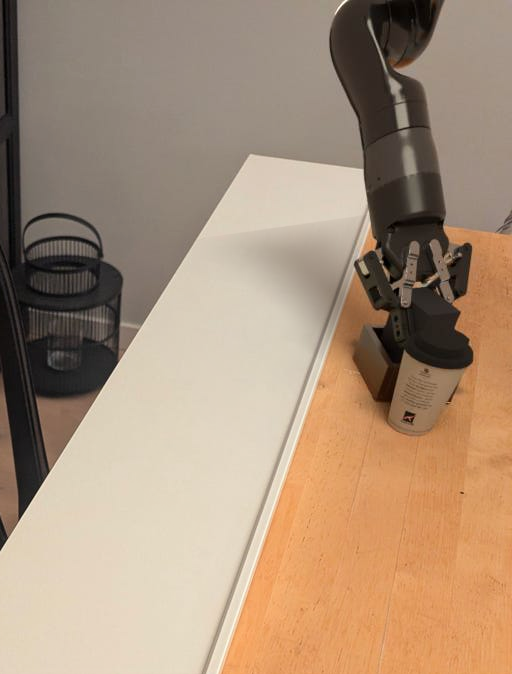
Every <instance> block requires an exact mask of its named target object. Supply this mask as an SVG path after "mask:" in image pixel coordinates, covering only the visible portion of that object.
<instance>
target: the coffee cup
mask: <svg viewBox="0 0 512 674" xmlns="http://www.w3.org/2000/svg"><path fill="white" fill-rule="evenodd" d="M403 347H404V354H403V358H402V362H401V366H400V370H399V374H398V378H397V382H396V387H395V391H394V395H393V399H392V402H390V408H389V410H388V411H389V412H388V416H387V419H386V420H387V424H388V425H389V426H390V427H391V428H392V429H393V430H395V431H397V432H399V433H401V434H402V435H403V434H404V435H408V436H413V437H414V436H416V437H420V436H425V435H428V434H429V433H430V432H431V430H432V429H433V427H434V425H435V423H436V422H437V420H438V418H439V416H440V415H441V413H442V411H443V409H444V408H445V406H446V405H447V404H446V403H447V401H448V399H449V398H450V396H451V394H452V393H453V391H454V389H455V388H456V386H457V384H458V382H459V381H460V382H461V380H460V379H462V377H464V374H465V373H466V371H467V369H468V368H469V367H470V366H471V365H472V364H473V363H474V350H473V348H472V347H471V346H470V338H469V337H468V336H467V335H466V334H464V333H463V332H461V331H459V330H457V329H456V328H455V329H450V328H442V327H427V328H424V329H422V330H421V331H420V332H416V333H413V334H412V335H411V336H409V337H408V338H407V339H406V341H405V342H404V345H403ZM460 382H459V383H460ZM458 385H459V384H458Z"/></svg>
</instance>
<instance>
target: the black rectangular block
mask: <svg viewBox="0 0 512 674" xmlns="http://www.w3.org/2000/svg"><path fill="white" fill-rule="evenodd" d="M398 295H399V294H398ZM408 308H409V309H410V308H412V310H413V317H414V323H415V330H416V332H420V331H421V330H422V329H424V328H427V327H442V328H450V329H454V328H455V329H456V325H457V323H458V321H459V319H460V316H461V313H462V311H461V310H459V308H457V307H456V306H454V305H453V303H452V304H450V303H449V302H448V301H447V300H445V299H444V298H443V297H441V296H440V294H439V292H438V293H436V292H435V291H434V290H432V289H429V288H427V287H419V286H418V287H412V294H411V304H410V306H409V307H408ZM384 325H385V327H384V330H383V333H382V336H381V338H380V342H381V344H382V346H383V347H384V349H385V351H386V352H387V354H388V356H389V358H390V359H391V361H392V363H396V364H401V362H402V358H403V354H404V348H400V347H399V344H398V343H396V341H395V338H394V331H393V325H392V318H391V315H390V314H389V313H388V316H387V319H386V322H385V324H384Z"/></svg>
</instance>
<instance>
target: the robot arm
mask: <svg viewBox="0 0 512 674" xmlns="http://www.w3.org/2000/svg"><path fill="white" fill-rule="evenodd" d="M445 1H446V0H343V1H342V3H341V4H340V5H338V6H339V7H338V8H337V9H336V11H335V13H334V15H333V17H332V20H331V23H330V24H331V25H330V28H329V33H328V35H329V36H328V48H329V56H330V60H331V63H332V66H333V69H334V71H335V74H336V76H337V79H338V81H339V83H340V84H341V86H342V89H343V91H344V93H345V96H346V98H347V100H348V102H349V105H350V107H351V109H352V111H353V112H354V114H355V116H356V119H357V124H358V125H357V126H358V133H359V139H360V146H361V152H362V160H363V166H362V167H363V173H362V174H363V182H364V188H365V196H366V202H367V208H368V216H369V222H370V229H371V234H372V235H371V236H372V238H373V239H374V240H375V241H376V244H375V247H374V250H372V249H371V250H369V251H367V252H366V253H364V254H362V255H361V256H360V257H358V258H357V259H355V260H354V262H353V267H354V269H355V272H356V274H357V276H358V278H359V280H360V282H361V285H362V288H363V289H364V291H365V293H366V296H367V298H368V300H369V302H370V304H371V307H372V309H373V310H374V311H377V312H379V311H380V310H382V311H385V312H387V313H388V315H389V314H390V315H391V318H392V325H393V331H394V338H395V341H396V343H398V344H399V347H400V348H404V347H403V345H404V342H405V341H406V339H407V338H408V337H409V336H411V335H412V334H413V333H416V330H415V323H414V317H413V310H412V308H410V309H409V308H408V307H409V306H410V304H411V294H412V288H414V286H415V284H416V283H417V286H418V288H419V287H427V288H429V289H432V290H434V291H435V292H436V293H438V294H439V295H440V296H441V297H443V298H444V299H445V300H447V301H448V302H449V303H450V304H452V305H453V303H454V302H455V301H457V300H459V299H460V298H463V297H464V296H466V295H467V293H468V287H469V286H468V285H469V279H470V271H471V263H472V255H473V246H472V244H471V243H470V242H465V243H463V244H461V245H460V244H456V243H453V242H450V239H449V236H448V235H447V234H446V232H445V230H444V223H445V221H446V217H447V210H446V202H445V195H444V190H443V189H444V188H443V182H442V176H441V169H440V162H439V155H438V151H437V146H436V143H435V140H434V137H433V133H432V126H431V117H430V111H429V106H428V105H429V104H428V99H427V94H426V90H425V86H424V85H423V83H422V82H421V81H420V80H418V79H417V78H415V77H412V76H409V75H405V74H402V73H399V72H398V71H396V70H402V69H405V68H406V67H409V66H410V65H412V64H413V63H415V62H416V61H417V60H418V59H419V58H420V57H422V55H423V54H424V52H426V50H427V48H428V47H429V45H430V43H431V42H432V39H433V37H434V34H435V31H436V28H437V24H438V21H439V18H440V15H441V12H442V9H443V7H444V4H445ZM384 269H385V270H384ZM385 271H387V273H386V272H385ZM432 277H434V278H433V279H430V278H432ZM398 294H399V295H398ZM454 329H455V330H456V327H455V328H454Z"/></svg>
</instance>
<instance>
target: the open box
mask: <svg viewBox="0 0 512 674" xmlns="http://www.w3.org/2000/svg"><path fill="white" fill-rule="evenodd" d="M384 327H385V324H367V323H364V324H363V325H362V328H361V331H360V334H359V336H358V340H357V342H356V345H355V349H354V352H353V355H352V360H353V362H354V364H355V365H356V367H357V369H358V371H359V373H360V375H361V378H362V379H363V381H364V383H365V384H366V386H367V388H368V390H369V392H370V395H371V396H372V398H373V400H374V401H375V402H380V403H381V402H384V403H392V399H393V395H394V391H395V387H396V382H397V378H398V374H399V370H400V366H401V364H396V363H392V361H391V359H390V358H389V356H388V354H387V352H386V351H385V349H384V347H383V346H382V344H381V342H380V338H381V336H382V333H383V330H384ZM461 379H462V378H461ZM461 379H460V381H459V382H458V384H457V386H456V388H455V389H454V391H453V393H452V394H451V396H450V398H449V399H448V401H447V402H452V401H453V398H454V396H455V394H456V391H457V389H458V387H459V385H460V382H461Z"/></svg>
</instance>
